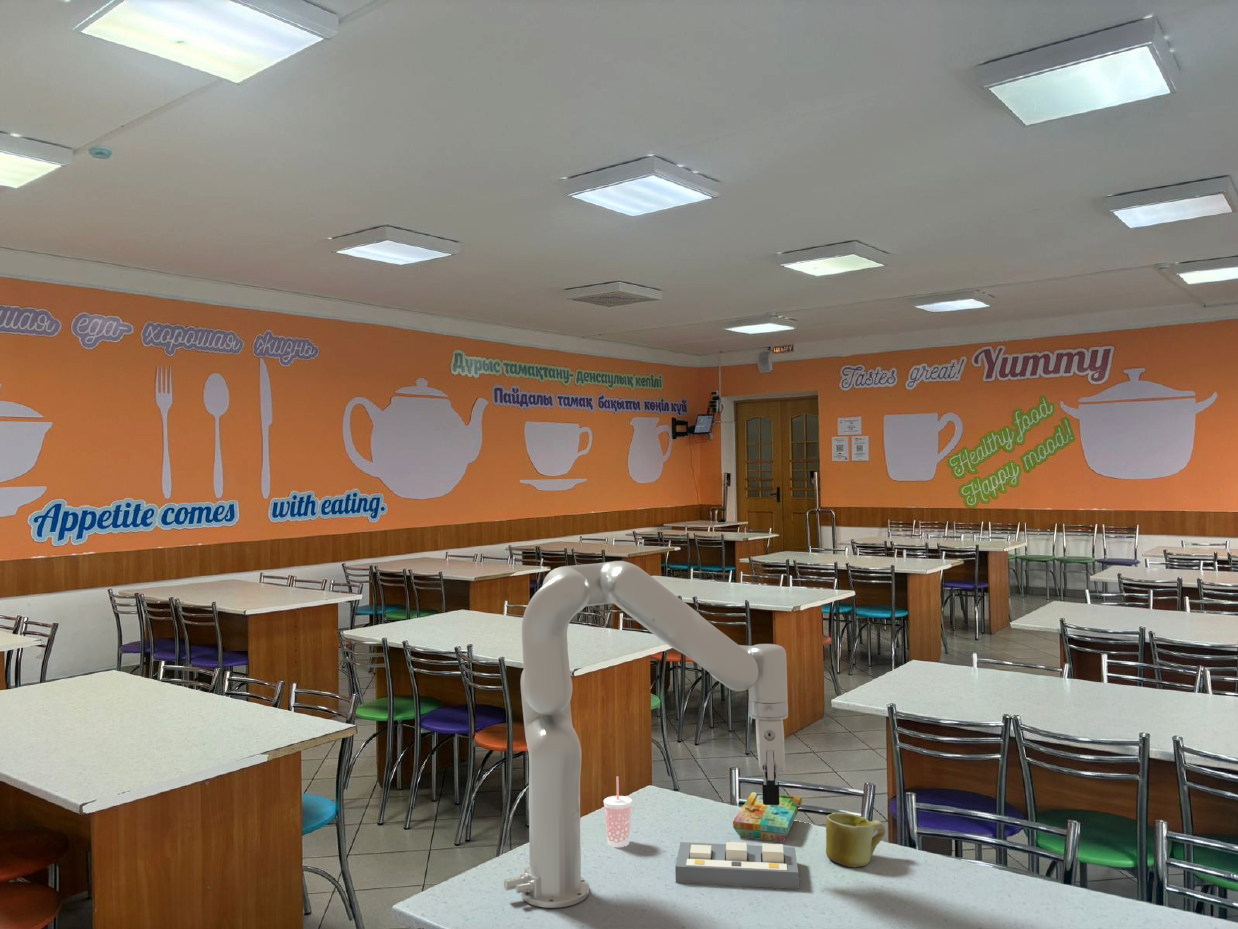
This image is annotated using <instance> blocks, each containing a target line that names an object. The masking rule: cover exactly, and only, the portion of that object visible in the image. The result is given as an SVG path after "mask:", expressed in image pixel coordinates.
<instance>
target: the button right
mask: <svg viewBox="0 0 1238 929" xmlns="http://www.w3.org/2000/svg"><path fill="white" fill-rule="evenodd" d="M761 846H762V859H763V862H765V863H784V852H783V847H784V844H781V843H761Z"/></svg>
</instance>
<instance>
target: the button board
mask: <svg viewBox="0 0 1238 929" xmlns="http://www.w3.org/2000/svg"><path fill="white" fill-rule="evenodd" d="M691 845H711V853H712V860H704V859H690V849H691ZM783 852H784V863H765V862H763V859H762V845H755V844H753V845H749V844H747V862H745V861H726V843H725V844H724V843H710V842H707V843H706V842H687V841H685V842H684V841H680V843H679V847H678V852H677V857H676V862H675V870H674V871H675V872H674V873H675V883H678V884H679V883H680V884H681V883H682V884H697V883H700V885H702V884H703V885H718V886H737V887H738V886H741V887H756V888H757V887H758V888H774V889H775V888H776V889H789V890H790V889H793V890H794V889H796V890H798V889H799V869H798V862H797V853H796V852H797V851H796V847H792V846H783Z"/></svg>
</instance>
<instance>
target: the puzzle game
mask: <svg viewBox="0 0 1238 929" xmlns="http://www.w3.org/2000/svg"><path fill="white" fill-rule="evenodd" d="M802 800H803V798H802V796H794V795H785V794H784V795H783V794H779V805H764V804H763V793H762V792H754V791H752V792H751V793H750V795H749V796H748V797H747V799H746V801H745V802H744V804H743V805H742V807H741V808H740V810H739V811H738V813H737V814H736V816H735V817H734V819H733V821H732V827H733V829H734V831H735V832H736V833H737V835H738V836H739V837H740V836H741V837H742V838H749V839H757V840H763V841H772V842H781V843H783V842H785V840H786V839H787V836H788V835H789V832H790V830H791V828H792V826H793V824H794V821H795V819H796V816H797V815H798V812H799V810H800V807H801V806H802V804H803V801H802ZM797 805H801V806H797ZM798 808H799V809H798ZM741 837H740V838H741Z"/></svg>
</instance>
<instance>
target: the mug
mask: <svg viewBox="0 0 1238 929" xmlns="http://www.w3.org/2000/svg"><path fill="white" fill-rule="evenodd" d="M825 828H826V829H825V833H826V834H825V835H826V838H825V839H826V840H825V844H826V845H825V852H826V857H827V858H828V859H829V860H831V861H833V862H835V863H837V864H840V865H842V866H845V867H848V868H857V867H858V868H859V867H866V866H867V865H868V864H869V863H870V861H871V857H873V854H874V852H875V849H876V848H877V846H878V845H879V844H880V843H881V841H882V840H883V838H884V837H885V835H886V827H885V825H884V823H882V821H879V820H876V819H875V820H871V821H869V820H868V819H867V817H862V816H860V815H858V814H853V813H847V812H832V813H830V814H828V815H826V827H825ZM875 832H876V834H875V835H874V833H875Z"/></svg>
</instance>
